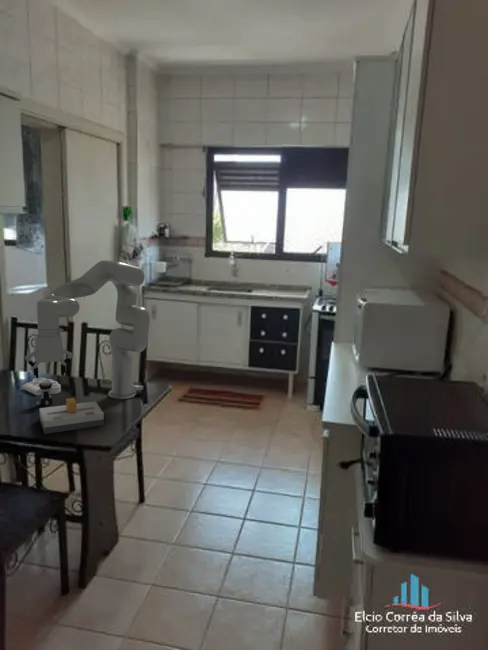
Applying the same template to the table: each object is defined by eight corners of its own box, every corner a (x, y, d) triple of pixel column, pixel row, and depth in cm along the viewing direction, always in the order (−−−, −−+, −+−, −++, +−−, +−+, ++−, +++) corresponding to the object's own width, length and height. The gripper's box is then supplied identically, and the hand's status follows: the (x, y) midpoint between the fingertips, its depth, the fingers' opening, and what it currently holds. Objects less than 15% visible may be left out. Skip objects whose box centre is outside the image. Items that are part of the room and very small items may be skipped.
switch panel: (94, 410, 213) (94, 399, 212) (103, 425, 200) (103, 412, 198) (39, 418, 203) (38, 405, 202) (44, 433, 189) (44, 421, 188)
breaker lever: (74, 412, 202) (73, 397, 201) (76, 417, 198) (76, 402, 197) (66, 413, 201) (66, 398, 200) (68, 418, 197) (68, 403, 195)
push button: (37, 407, 213) (37, 385, 211) (35, 403, 218) (34, 381, 216) (54, 405, 217) (53, 383, 215) (50, 401, 221) (50, 379, 219)
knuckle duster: (18, 388, 235) (47, 382, 247) (39, 398, 224) (68, 391, 236) (18, 382, 235) (47, 375, 246) (38, 391, 224) (68, 384, 235)
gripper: (70, 328, 196) (71, 371, 200) (22, 331, 188) (24, 375, 192) (74, 333, 190) (75, 376, 193) (24, 335, 182) (26, 381, 185)
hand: (49, 375), depth 193 cm, fingers open, 8 cm apart
